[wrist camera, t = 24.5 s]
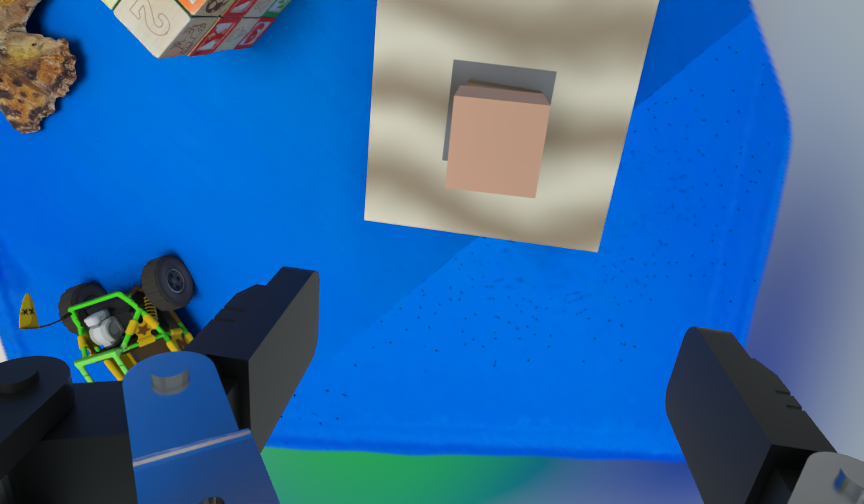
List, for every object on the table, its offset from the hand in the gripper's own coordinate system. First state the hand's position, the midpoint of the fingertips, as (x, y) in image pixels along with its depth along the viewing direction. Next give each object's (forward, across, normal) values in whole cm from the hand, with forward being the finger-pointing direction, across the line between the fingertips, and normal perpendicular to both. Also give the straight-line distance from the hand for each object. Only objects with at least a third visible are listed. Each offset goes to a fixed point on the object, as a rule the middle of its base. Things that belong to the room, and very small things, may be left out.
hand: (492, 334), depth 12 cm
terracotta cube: (+24, 0, 0) cm, 24 cm away
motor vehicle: (+31, +27, +23) cm, 47 cm away
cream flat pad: (+30, 0, 0) cm, 30 cm away
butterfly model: (+32, +33, 0) cm, 46 cm away
